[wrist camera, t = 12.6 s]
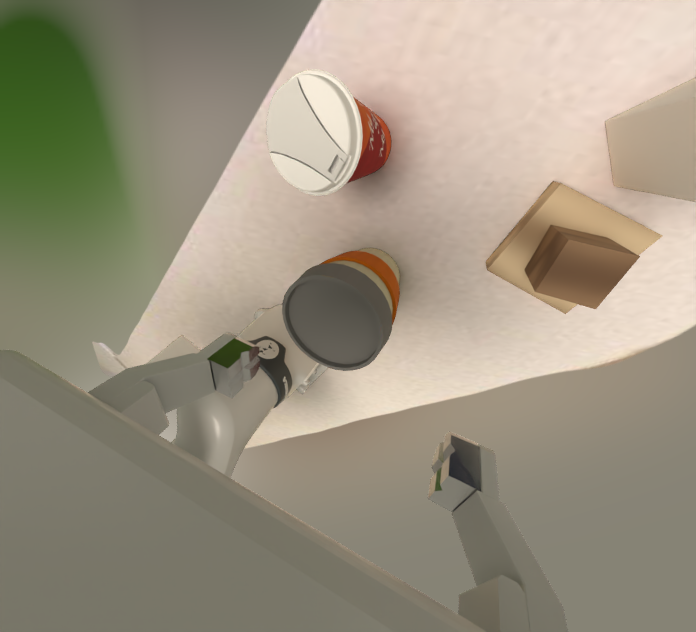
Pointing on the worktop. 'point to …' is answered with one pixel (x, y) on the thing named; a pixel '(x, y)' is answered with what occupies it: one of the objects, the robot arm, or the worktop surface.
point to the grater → (176, 349)
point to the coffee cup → (323, 134)
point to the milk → (657, 144)
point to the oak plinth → (566, 212)
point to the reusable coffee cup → (344, 308)
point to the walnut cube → (578, 266)
